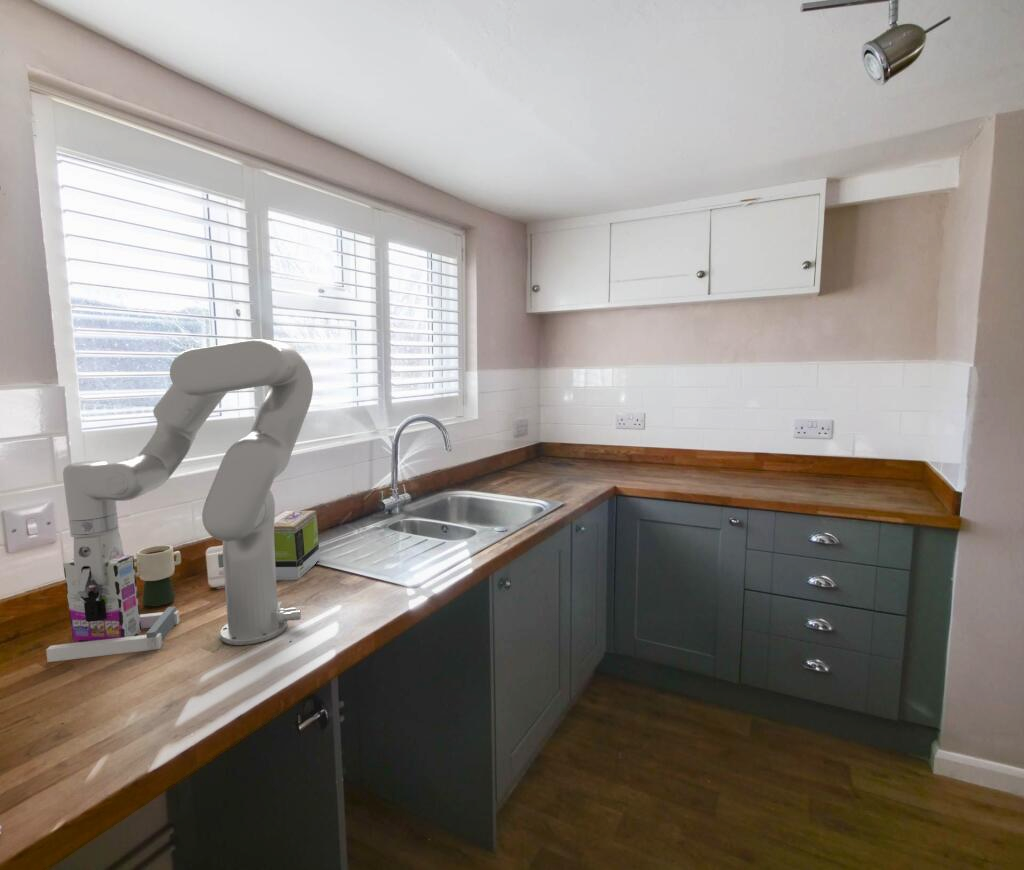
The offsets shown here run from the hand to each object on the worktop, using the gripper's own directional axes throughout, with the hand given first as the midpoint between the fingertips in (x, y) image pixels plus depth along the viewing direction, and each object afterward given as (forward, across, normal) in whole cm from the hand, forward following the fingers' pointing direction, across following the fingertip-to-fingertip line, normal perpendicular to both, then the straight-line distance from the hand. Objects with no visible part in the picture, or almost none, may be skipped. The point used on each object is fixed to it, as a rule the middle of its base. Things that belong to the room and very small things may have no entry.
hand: (104, 611), depth 110 cm
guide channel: (+6, 0, -2) cm, 6 cm away
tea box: (+7, +32, -30) cm, 45 cm away
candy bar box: (+6, 0, 0) cm, 6 cm away
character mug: (+7, +18, -4) cm, 19 cm away
